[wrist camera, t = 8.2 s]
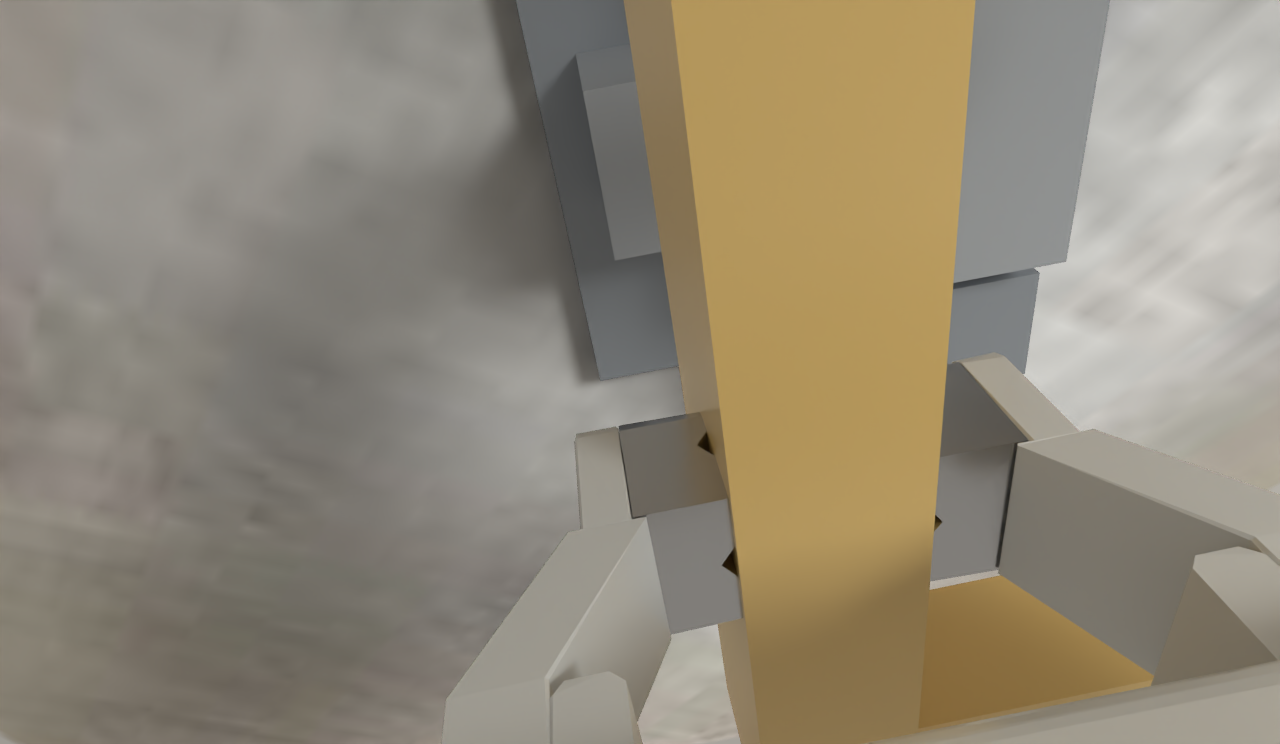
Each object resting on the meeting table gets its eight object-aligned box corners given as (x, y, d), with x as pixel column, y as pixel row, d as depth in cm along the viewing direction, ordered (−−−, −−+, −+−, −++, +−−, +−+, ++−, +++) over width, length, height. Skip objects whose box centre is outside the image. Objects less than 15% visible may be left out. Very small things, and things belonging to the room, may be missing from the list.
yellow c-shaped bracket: (1814, -481, 7) (2721, -736, 4) (1316, 565, 15) (1513, 736, 12) (584, -258, 7) (628, -361, 4) (727, 687, 15) (777, 891, 12)
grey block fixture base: (1081, -341, 17) (1300, -427, 12) (1004, 287, 26) (1114, 385, 21) (467, -227, 17) (437, -267, 12) (598, 364, 26) (612, 481, 21)
